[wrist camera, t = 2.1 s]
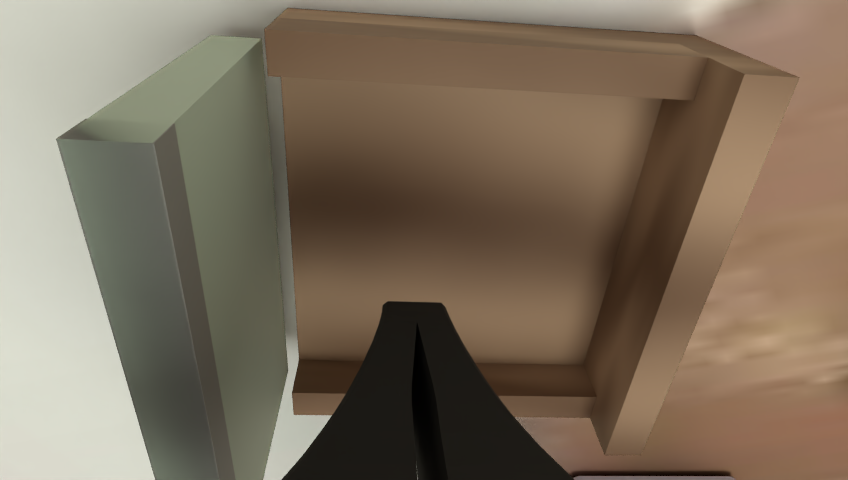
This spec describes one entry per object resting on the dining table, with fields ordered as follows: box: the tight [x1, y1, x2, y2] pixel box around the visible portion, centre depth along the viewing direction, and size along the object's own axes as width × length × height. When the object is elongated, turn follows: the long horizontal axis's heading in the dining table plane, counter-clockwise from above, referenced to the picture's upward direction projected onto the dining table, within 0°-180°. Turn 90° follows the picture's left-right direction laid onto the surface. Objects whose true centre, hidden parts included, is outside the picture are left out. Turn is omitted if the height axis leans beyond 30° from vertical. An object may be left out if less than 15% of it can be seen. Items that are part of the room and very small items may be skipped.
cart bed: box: [264, 8, 799, 455], centre depth 16 cm, size 12×11×4 cm
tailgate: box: [56, 35, 288, 480], centre depth 13 cm, size 11×1×7 cm, turn 176°
